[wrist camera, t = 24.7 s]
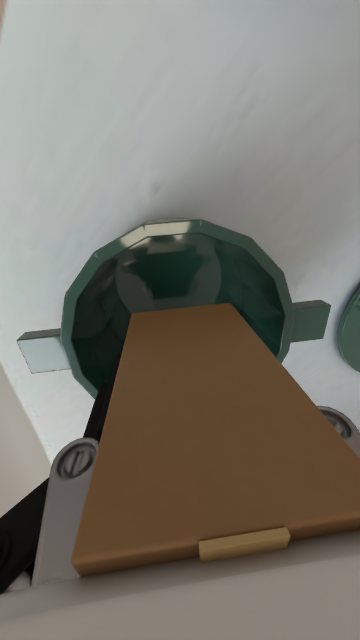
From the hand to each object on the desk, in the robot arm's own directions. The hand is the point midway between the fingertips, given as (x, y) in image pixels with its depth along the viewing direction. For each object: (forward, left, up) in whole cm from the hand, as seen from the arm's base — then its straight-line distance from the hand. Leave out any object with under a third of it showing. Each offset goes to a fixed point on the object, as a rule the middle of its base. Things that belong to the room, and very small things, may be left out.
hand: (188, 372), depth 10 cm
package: (0, 0, -1) cm, 1 cm away
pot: (0, 0, -10) cm, 10 cm away
